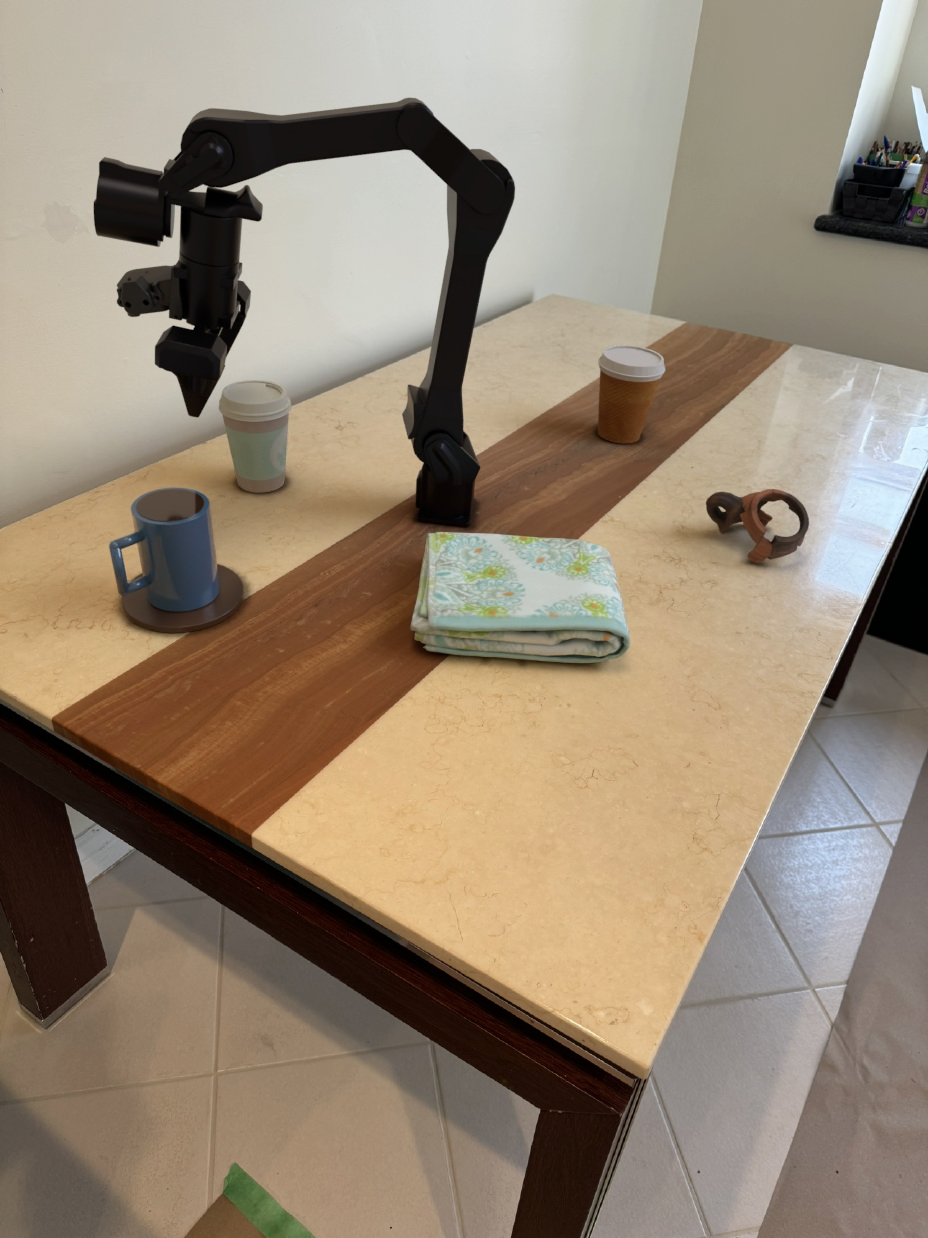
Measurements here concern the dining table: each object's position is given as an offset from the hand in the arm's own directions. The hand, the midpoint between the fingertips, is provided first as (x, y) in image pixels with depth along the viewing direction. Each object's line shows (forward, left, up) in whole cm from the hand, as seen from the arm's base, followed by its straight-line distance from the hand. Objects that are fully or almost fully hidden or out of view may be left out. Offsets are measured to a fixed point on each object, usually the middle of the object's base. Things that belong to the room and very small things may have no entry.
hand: (202, 395), depth 96 cm
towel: (-37, +13, -14) cm, 42 cm away
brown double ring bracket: (-64, -7, -14) cm, 66 cm away
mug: (-2, +20, -13) cm, 24 cm away
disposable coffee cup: (-49, -35, -14) cm, 62 cm away
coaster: (-3, +18, -14) cm, 23 cm away
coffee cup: (-3, -8, -14) cm, 17 cm away
